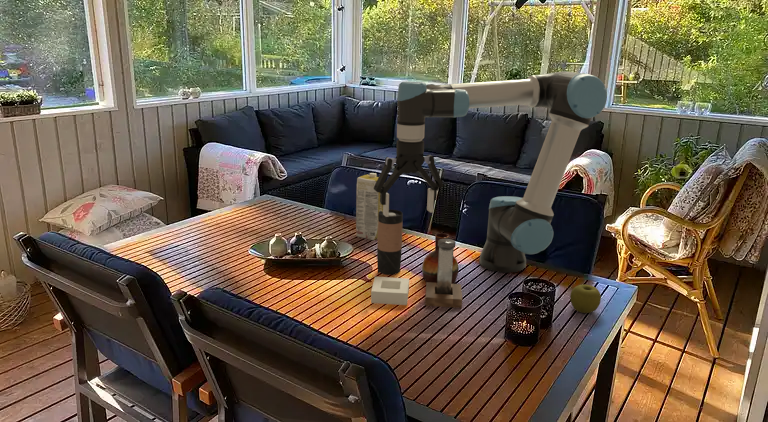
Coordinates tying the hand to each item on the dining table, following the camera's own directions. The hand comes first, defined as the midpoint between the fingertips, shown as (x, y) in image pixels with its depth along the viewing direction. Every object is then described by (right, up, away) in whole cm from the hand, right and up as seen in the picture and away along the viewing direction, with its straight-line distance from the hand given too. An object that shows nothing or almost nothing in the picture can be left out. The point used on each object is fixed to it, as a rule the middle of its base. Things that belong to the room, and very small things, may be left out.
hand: (408, 213), depth 160 cm
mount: (+10, -25, -1) cm, 27 cm away
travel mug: (-5, -19, +18) cm, 27 cm away
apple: (+49, -27, -4) cm, 56 cm away
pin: (+10, -24, -1) cm, 26 cm away
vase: (+10, -21, +12) cm, 27 cm away
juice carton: (-12, -9, +50) cm, 53 cm away
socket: (-5, -24, 0) cm, 25 cm away
